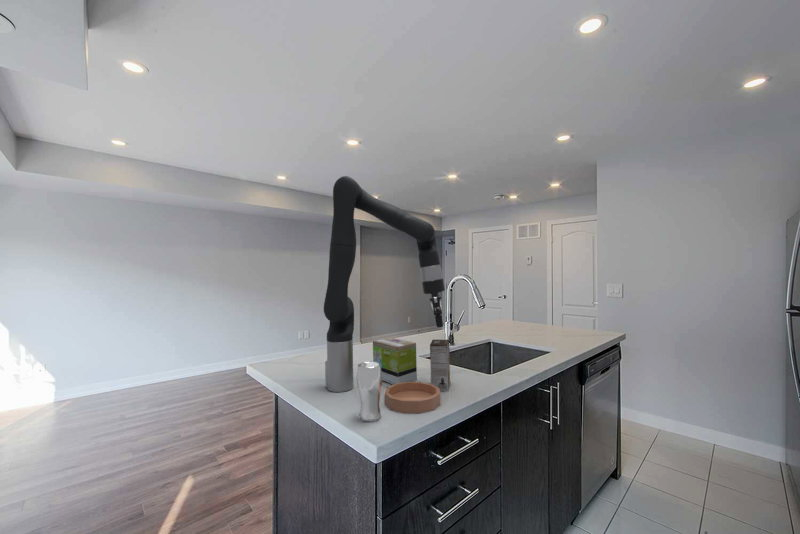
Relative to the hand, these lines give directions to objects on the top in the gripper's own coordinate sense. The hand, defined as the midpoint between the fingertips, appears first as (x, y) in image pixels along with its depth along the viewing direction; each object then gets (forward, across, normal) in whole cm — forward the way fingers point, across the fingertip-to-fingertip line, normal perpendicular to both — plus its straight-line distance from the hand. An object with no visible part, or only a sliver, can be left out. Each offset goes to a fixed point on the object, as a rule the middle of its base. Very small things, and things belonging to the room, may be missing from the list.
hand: (439, 324), depth 116 cm
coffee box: (+22, -3, -3) cm, 23 cm away
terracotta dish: (+21, +11, -12) cm, 27 cm away
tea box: (+20, -11, -20) cm, 31 cm away
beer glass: (+20, +23, -24) cm, 38 cm away
